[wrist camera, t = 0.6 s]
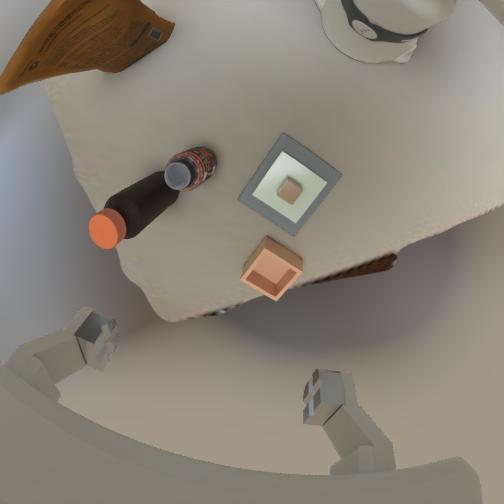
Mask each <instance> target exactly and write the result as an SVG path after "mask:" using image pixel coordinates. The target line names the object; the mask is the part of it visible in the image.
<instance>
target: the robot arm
mask: <svg viewBox="0 0 504 504" xmlns="http://www.w3.org/2000/svg"><path fill="white" fill-rule="evenodd" d="M479 1H480V2H481V3H482V4H483V5H484V6H485V7H486V8H487V9H488V10H489V11H490V12H491V13H492V14H493V15H494V16H495V17H496V19H497V20H498V21H499V22H500V23H501V24H502V25H503V26H504V0H479ZM315 3H316V5H317V6H318V8H319V10H320V11H321V16H322V25H323V29H324V31H325V33H326V35H327V37H328V38H329V40H330V41H331V42H332V44H333V45H334V46H335V47H336V48H338V49H339V50H340V51H341V52H343V53H344V54H346V55H347V56H349V57H351V58H353V59H356V60H358V61H362V62H366V63H382V62H387V61H393V62H397V63H402V64H404V63H407V62H408V61H409V60H410V58H411V55H412V53H413V50H414V49H415V48H416V47H417V45H416V43H417V40H418V37H420V36H421V35H422V34H424V33H425V32H426V31H427V30H428V28H429V27H431V26H433V25H435V24H437V23H439V22H441V21H443V20H445V19H447V18H449V17H450V16H451V14H452V13H453V11H454V9H455V7H456V0H315ZM116 326H117V322H116V319H114V318H112V317H110V316H107V315H105V314H102V313H100V312H97V311H95V310H93V309H90V308H88V307H83V308H82V309H81V310H80V311H79V312H78V314H77V315H76V316H75V317H74V319H72V321H71V322H70V323H69V324H68V326H67V327H66V328H65V329H64V330H62V329H61V330H58V331H55V332H53V333H51V334H48V335H45V336H43V337H40V338H38V339H35V340H33V341H30V342H27V343H25V344H22V345H20V346H19V347H18V348H17V349H16V351H15V352H14V353H13V354H12V356H11V357H10V358H9V360H8V361H7V362H6V364H5V365H3V364H2V363H1V362H0V504H482V493H481V485H480V480H479V476H478V474H477V472H476V471H475V470H474V469H473V468H472V466H470V464H469V463H468V462H467V461H466V460H464V459H463V458H462V457H452V458H449V459H445V460H441V461H437V462H433V463H429V464H425V465H420V466H415V467H410V468H403V469H397V470H396V465H395V459H394V451H393V445H392V442H391V441H390V440H389V439H388V438H387V436H386V435H385V434H384V433H383V432H382V431H381V429H380V428H379V427H378V426H377V425H376V423H375V422H374V421H373V420H372V419H371V418H370V416H369V415H368V414H367V413H366V411H365V410H364V409H363V408H362V407H361V406H358V403H357V397H356V390H355V385H354V379H353V375H352V373H346V372H339V371H330V370H321V369H316V370H315V371H314V372H313V374H312V376H313V378H312V379H311V380H309V381H308V382H307V384H306V386H305V389H304V395H303V401H304V403H305V404H306V407H305V409H304V410H303V424H310V425H320V426H322V427H323V429H324V430H325V432H326V434H327V435H328V437H329V439H330V441H331V442H332V444H333V446H334V447H335V449H336V451H337V452H338V454H339V455H340V457H341V460H340V461H338V462H337V463H335V464H334V465H332V466H331V467H330V475H298V474H282V473H272V472H263V471H254V470H247V469H241V468H235V467H230V466H224V465H219V464H214V463H210V462H206V461H201V460H197V459H193V458H189V457H186V456H182V455H179V454H175V453H172V452H169V451H165V450H162V449H159V448H156V447H153V446H150V445H147V444H145V443H142V442H139V441H137V440H134V439H131V438H129V437H126V436H124V435H122V434H119V433H117V432H115V431H112V430H110V429H108V428H105V427H103V426H101V425H99V424H97V423H95V422H93V421H91V420H89V419H87V418H85V417H83V416H81V415H79V414H77V413H76V412H73V411H72V410H70V409H68V408H66V407H65V406H63V405H61V404H60V403H58V402H57V401H58V399H59V398H60V392H59V391H58V389H57V387H56V386H55V384H56V383H58V382H60V381H61V380H63V379H65V378H67V377H68V376H70V375H71V374H73V373H75V372H77V371H78V370H80V369H82V368H83V367H85V366H86V365H88V366H91V367H93V368H96V369H98V370H100V371H103V370H104V369H105V367H106V365H107V363H108V362H109V355H110V354H112V353H114V352H115V350H116V348H117V346H118V343H119V333H118V331H117V330H116V329H115V327H116Z"/></svg>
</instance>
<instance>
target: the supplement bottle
mask: <svg viewBox="0 0 504 504" xmlns="http://www.w3.org/2000/svg"><path fill="white" fill-rule="evenodd" d="M215 169H216V159H215V156H214V154H213V153H212V152H211V151H210V150H208V149H207V148H203V147H196V148H193V149H190V150H187V151H184V152H181V153H179V154H177V155H175V156H173V157H172V158H171V159H170V161H169V162H168V164H167V167H166V170H165V174H164V177H165V181H166V183H167V185H168V186H169V187H171V188H172V189H175V190H180V191H190V190H193V189H195V188H197V187H198V186H199V185H200V184H202V183H203V182H204V181H205V180H207V179H208V178H209V177H210V176H211V175H212V174H213V173H214V171H215Z"/></svg>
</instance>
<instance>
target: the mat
mask: <svg viewBox="0 0 504 504" xmlns="http://www.w3.org/2000/svg"><path fill="white" fill-rule="evenodd" d="M282 150H283V151H284V152H286V153H287V154H289V155H290V156H292V157H293V158H295V159H296V160H297V161H299V162H300V163H302V164H303V165H305V166H306V167H307V168H309V169H310V170H312V171H313V172H314V173H316V174H317V175H319V176H320V177H321V178H323V179H324V180H325V181H327V184H326V185H325V187H324V188H323V189H322V190H321V192H320V193H319V194H318V196H317V197H316V198H315V200H314V201H313V202H312V203H311V205H310V206H309V207H308V209H307V210H306V211H305V212H304V214H303V215H302V216H301V218H300V219H299V220H298V221H297V223H294V222H293V221H291V220H290V219H288V218H287V217H285V216H284V215H282V214H281V213H279V212H278V211H276V210H275V209H273V208H272V207H270V206H269V205H267V204H266V203H264V202H263V201H261V200H259V199H258V198H256V197H255V196H253V195H252V194H253V192H254V190H255V189H256V188H257V186H258V185H259V183H260V182H261V180H262V179H263V177H264V176H265V174H266V173H267V172H268V170H269V169H270V167H271V166H272V164H273V163H274V162H275V160H276V159H277V157H278V156H279V154H280V153H281V152H282ZM341 176H342V175H341V174H340V173H339V172H338V171H336V170H335V169H334V168H332V167H331V166H330V165H328V164H327V163H326V162H324V161H323V160H322V159H320V158H319V157H317V156H316V155H315V154H313V153H312V152H311V151H309V150H308V149H306V148H305V147H303V146H302V145H301V144H299V143H298V142H296V141H295V140H293V139H292V138H290V137H289V136H287V135H286V134H284V133H283V134H282V135H281V137H280V138H279V140H278V141H277V143H276V144H275V145H274V147H273V148H272V150H271V151H270V153H269V154H268V155H267V157H266V158H265V160H264V161H263V163H262V164H261V166H260V167H259V169H258V170H257V172H256V173H255V175H254V176H253V177H252V179H251V180H250V182H249V183H248V185H247V186H246V188H245V189H244V191H243V192H242V194H241V195H240V197H239V198H238V200H239V201H240V202H242V203H243V204H245V205H247V206H248V207H250V208H251V209H253V210H254V211H256V212H258V213H259V214H261V215H262V216H264V217H265V218H267V219H268V220H270V221H271V222H273V223H274V224H276V225H277V226H279V227H281V228H282V229H284V230H285V231H287V232H288V233H290V234H291V235H293V236H295V235H296V233H297V232H298V231H299V230H300V228H301V227H302V226H303V225H304V223H305V222H306V221H307V220H308V218H309V217H310V216H311V215H312V213H313V212H314V211H315V210H316V208H317V207H318V206H319V204H320V203H321V202H322V201H323V199H324V198H325V197H326V195H327V194H328V193H329V192H330V190H331V189H332V188H333V186H334V185H335V184H336V183H337V181H338V180H339V179H340V177H341Z"/></svg>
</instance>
